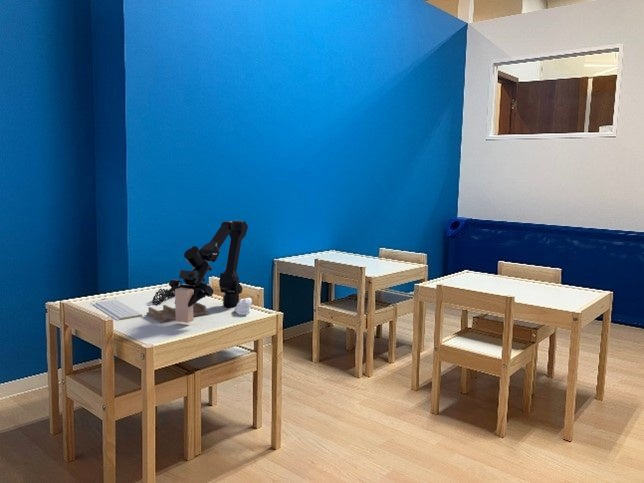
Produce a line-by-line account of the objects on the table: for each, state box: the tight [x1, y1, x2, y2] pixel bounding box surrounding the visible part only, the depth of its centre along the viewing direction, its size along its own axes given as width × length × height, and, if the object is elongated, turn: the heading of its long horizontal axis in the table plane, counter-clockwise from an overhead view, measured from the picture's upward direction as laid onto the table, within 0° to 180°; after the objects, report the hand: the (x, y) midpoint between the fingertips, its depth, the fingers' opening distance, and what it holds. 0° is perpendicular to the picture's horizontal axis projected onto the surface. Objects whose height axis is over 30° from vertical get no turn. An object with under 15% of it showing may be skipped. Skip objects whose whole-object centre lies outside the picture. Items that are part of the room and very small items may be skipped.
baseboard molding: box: [89, 297, 143, 321], centre depth 236 cm, size 31×3×12 cm
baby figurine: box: [233, 297, 253, 316], centre depth 238 cm, size 9×12×8 cm
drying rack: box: [146, 301, 209, 324], centre depth 231 cm, size 21×15×4 cm
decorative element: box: [151, 287, 175, 306], centre depth 257 cm, size 22×5×6 cm, turn 171°
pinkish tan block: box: [174, 288, 194, 324], centre depth 217 cm, size 4×6×13 cm, turn 66°
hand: (182, 305), depth 215 cm, fingers closed on pinkish tan block, 6 cm apart
